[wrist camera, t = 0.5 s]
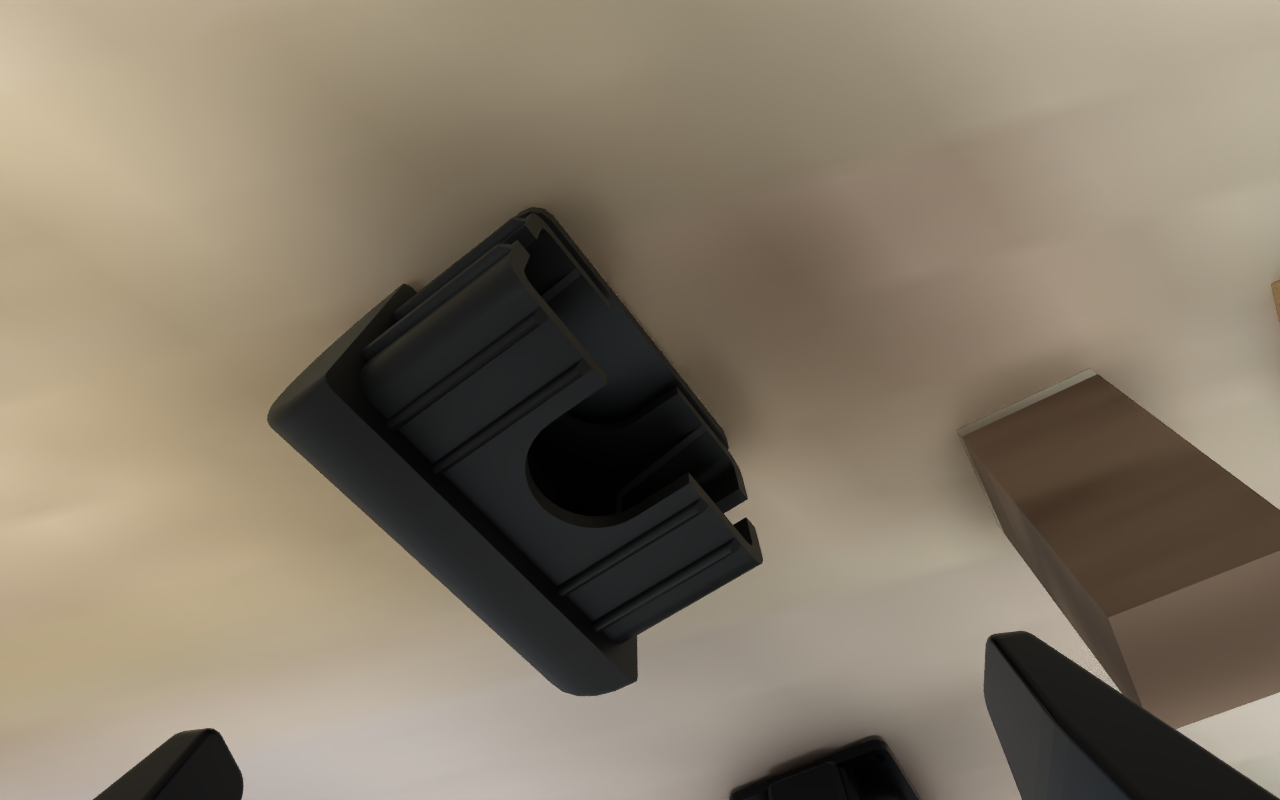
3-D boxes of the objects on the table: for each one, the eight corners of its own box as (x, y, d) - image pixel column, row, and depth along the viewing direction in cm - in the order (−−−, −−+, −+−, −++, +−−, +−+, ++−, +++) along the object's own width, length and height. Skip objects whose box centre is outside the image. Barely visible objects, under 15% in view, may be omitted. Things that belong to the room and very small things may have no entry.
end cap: (331, 337, 21) (213, 463, 15) (527, 181, 19) (480, 252, 13) (559, 566, 25) (537, 742, 19) (742, 453, 23) (782, 606, 17)
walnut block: (1124, 471, 23) (1343, 669, 16) (998, 525, 24) (1153, 736, 17) (1089, 368, 22) (1315, 536, 15) (956, 429, 23) (1108, 617, 15)
